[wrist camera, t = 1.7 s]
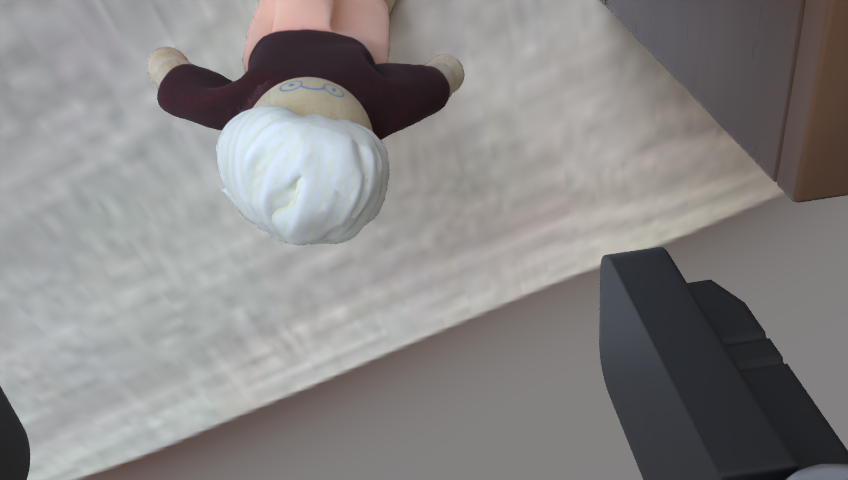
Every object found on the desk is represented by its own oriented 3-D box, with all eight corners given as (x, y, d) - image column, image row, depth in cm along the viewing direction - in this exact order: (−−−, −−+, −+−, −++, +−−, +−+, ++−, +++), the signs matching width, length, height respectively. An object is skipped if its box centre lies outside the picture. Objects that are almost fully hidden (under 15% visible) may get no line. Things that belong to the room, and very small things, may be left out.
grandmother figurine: (426, -95, 23) (511, 68, 13) (441, 31, 26) (524, 258, 15) (166, -54, 23) (40, 144, 13) (202, 69, 25) (121, 325, 15)
